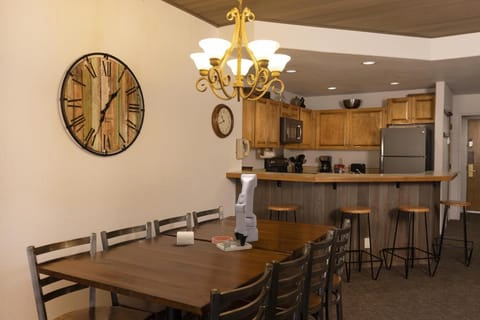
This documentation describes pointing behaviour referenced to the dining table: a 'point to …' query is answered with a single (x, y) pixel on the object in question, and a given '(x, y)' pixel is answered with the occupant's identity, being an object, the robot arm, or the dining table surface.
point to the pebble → (226, 244)
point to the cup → (185, 238)
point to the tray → (234, 246)
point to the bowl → (221, 239)
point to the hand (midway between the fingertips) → (240, 245)
